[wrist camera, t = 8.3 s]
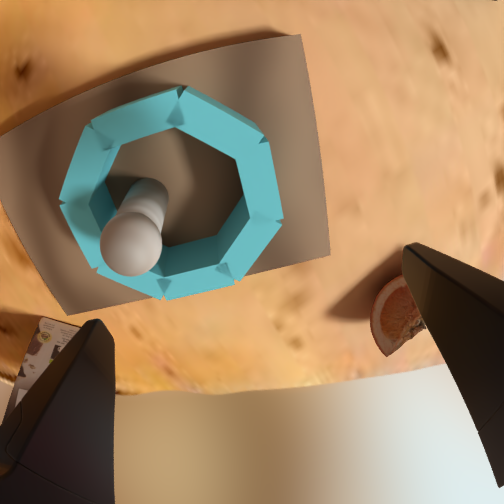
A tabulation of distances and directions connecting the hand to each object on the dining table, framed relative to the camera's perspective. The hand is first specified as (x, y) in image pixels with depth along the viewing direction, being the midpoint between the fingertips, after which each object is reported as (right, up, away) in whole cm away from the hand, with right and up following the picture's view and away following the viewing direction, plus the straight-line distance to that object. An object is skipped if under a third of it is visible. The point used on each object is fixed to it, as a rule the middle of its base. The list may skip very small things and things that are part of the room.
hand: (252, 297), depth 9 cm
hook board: (-6, +5, +10) cm, 13 cm away
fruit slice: (+13, -2, +18) cm, 22 cm away
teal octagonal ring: (-4, +5, +9) cm, 11 cm away
